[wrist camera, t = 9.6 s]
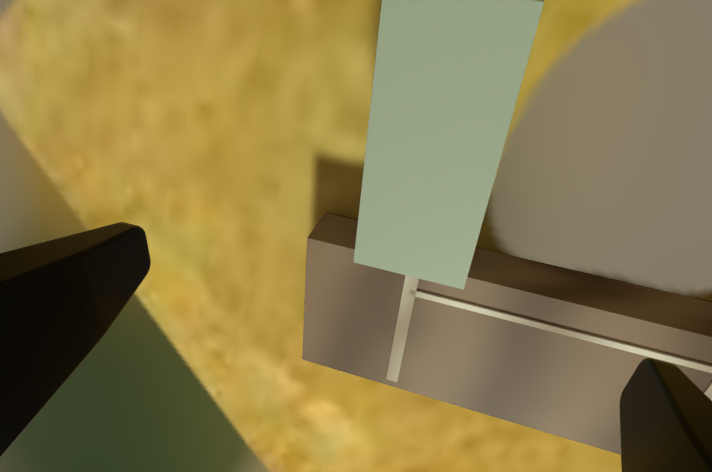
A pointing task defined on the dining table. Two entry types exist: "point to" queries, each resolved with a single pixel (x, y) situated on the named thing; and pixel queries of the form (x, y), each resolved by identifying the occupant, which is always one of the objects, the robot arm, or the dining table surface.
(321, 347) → the walnut board
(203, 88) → the dining table surface
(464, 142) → the block
